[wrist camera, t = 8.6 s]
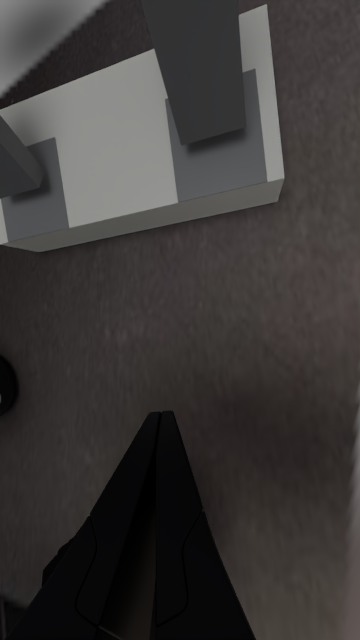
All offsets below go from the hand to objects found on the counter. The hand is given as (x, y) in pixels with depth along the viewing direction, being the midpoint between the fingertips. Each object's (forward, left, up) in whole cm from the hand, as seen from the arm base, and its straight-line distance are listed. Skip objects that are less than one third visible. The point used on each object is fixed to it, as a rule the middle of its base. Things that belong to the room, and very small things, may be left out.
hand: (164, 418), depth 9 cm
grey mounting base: (+14, +4, -12) cm, 19 cm away
